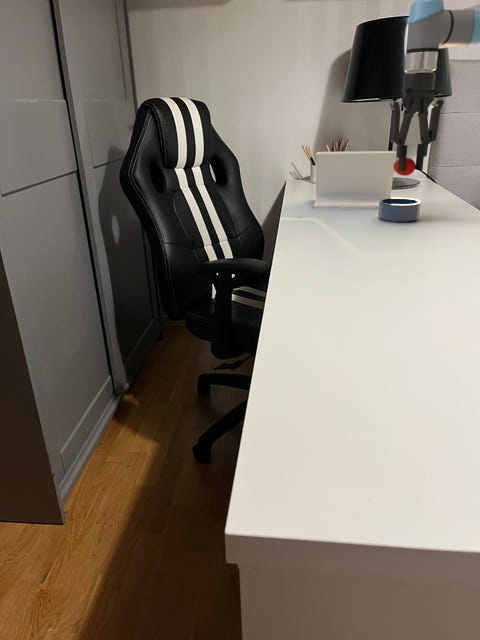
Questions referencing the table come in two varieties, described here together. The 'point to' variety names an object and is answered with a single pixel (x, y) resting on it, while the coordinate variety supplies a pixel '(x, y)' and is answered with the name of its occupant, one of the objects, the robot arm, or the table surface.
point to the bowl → (399, 209)
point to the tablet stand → (353, 178)
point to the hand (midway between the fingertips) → (410, 170)
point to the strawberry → (408, 168)
